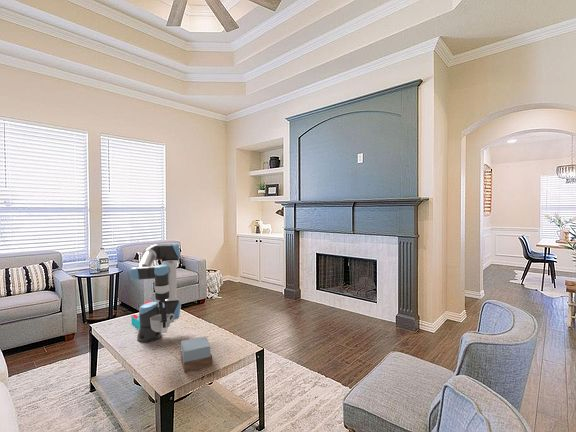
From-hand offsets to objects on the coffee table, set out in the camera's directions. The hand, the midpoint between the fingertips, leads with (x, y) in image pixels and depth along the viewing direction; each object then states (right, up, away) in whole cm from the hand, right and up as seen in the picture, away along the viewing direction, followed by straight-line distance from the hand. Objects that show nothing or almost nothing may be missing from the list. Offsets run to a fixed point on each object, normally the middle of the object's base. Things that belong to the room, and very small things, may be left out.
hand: (163, 328), depth 177 cm
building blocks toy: (-32, -17, +58) cm, 69 cm away
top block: (+20, -13, -3) cm, 24 cm away
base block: (+20, -19, -3) cm, 28 cm away
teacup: (0, 0, 0) cm, 0 cm away
